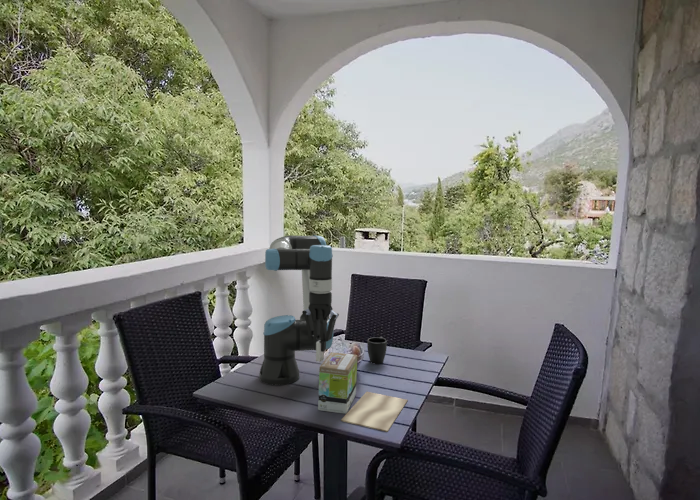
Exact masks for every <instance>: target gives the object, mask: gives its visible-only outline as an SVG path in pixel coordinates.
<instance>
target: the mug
mask: <svg viewBox="0 0 700 500" xmlns="http://www.w3.org/2000/svg"><path fill="white" fill-rule="evenodd" d="M387 343H388V340H387V339H386V338H384V337H383V336H379V337H378V336H377V337H370V338H368V339H367V346H366V347H367V355H368V359H369V362H370V363H371V362H372V363H371V364H373V363H375V364H374V365H381V364H383V363H384V360H385V357H386V353H387V345H388V344H387ZM380 363H381V364H380Z"/></svg>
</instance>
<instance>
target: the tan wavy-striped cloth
mask: <svg viewBox="0 0 700 500" xmlns="http://www.w3.org/2000/svg"><path fill="white" fill-rule="evenodd" d="M407 402H408V399H405V398H400V397H395V396H390V395H387V394H386V395H385V394H380V393H377V392H371V391H366V392H365V393H364V394H363V395H362V396H361V397H360V398H359V399H358V401H356V402H355V403H354V405H353V406H351V408H349V410H348V411H347V413H346V414H345V415H344V416H343V417H342V418H341V419H340V422H342V423H343V422H344V423H348V424H352V425H355V426H360V427H363V428H364V427H366V428H369V429H374V430H378V431H382V432H386V433H388V432H389V430H390V429H391V427H392V426H393V424H394V423H395V421H396V419H397V418H398V417H399V415H400V414H401V411H402V410H403V408H404V407H405V406H406V404H407Z"/></svg>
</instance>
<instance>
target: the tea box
mask: <svg viewBox="0 0 700 500" xmlns="http://www.w3.org/2000/svg"><path fill="white" fill-rule="evenodd" d="M318 372H319V373H318V402H317V410H318V411H323V412H329V413H336V414H337V413H338V414H345V415H346V414H347V413H348V411H349V410H350V407H352V406H351V405H352V404H353V402H354V399H355V397H356V395H357V376H358V375H357V374H358V355H357V354H352V353H350V354H349V353H342V352H341V353H340V352H330V353H329V354H328V355H327V356H326V358H324V360H323V362H322V363H321V364H320V366H319V370H318Z"/></svg>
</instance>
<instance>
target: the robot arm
mask: <svg viewBox="0 0 700 500" xmlns="http://www.w3.org/2000/svg"><path fill="white" fill-rule="evenodd" d="M264 256H265V259H264V260H265V263H264V264H265V267H264V268H265V270H267V271H301V283H302V286H301V287H302V301H303V302H302V303H303V304H302V305H303V306H302V307H303V310H302V312H301V314H300V317H299V319H296V317H295V316H294V315H292V314H291V315H290V314H284V315H278V316H273V317H271V318H269V319H268V320H266V321H265V322H264V327H263V340H264V341H263V361H262V364H261V367H260V370H259V373H258V374H259V375H258V376H259V377H258V379H259V381H260V382H261V383H263V384H266V385H269V386H284V385H290V384H292V383H295V382H297V381H298V380H299V378H300V369H299V366H298V364H297V360H296V351H297V352H302V351H315V361H316V362H318V363H320V362H322V361H324V360H325V356H324V355H325V354H324V352H326V351H327V350H329V349H331V347H332V345H333V340H334V329H335V326H336V321H337V319H338V318H339V315H340V314H339V312H335V311H334V310H333V309H334V308H333V306H332V304H333V303H332V302H333V301H332V300H333V299H332V298H333V295H332V294H333V293H332V292H331V291H332V290H333V277H332V276H333V275H332V273H333V271H332V270H333V249H332V246H331V245H327V242H326V240H325V237H323V236H322V235H314V234H313V235H293V234H292V235H284V236H281V237H278V238H276V239H275V240H273V241H272V242H271V244H269V248H268V249H266V250H265V255H264Z"/></svg>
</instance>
